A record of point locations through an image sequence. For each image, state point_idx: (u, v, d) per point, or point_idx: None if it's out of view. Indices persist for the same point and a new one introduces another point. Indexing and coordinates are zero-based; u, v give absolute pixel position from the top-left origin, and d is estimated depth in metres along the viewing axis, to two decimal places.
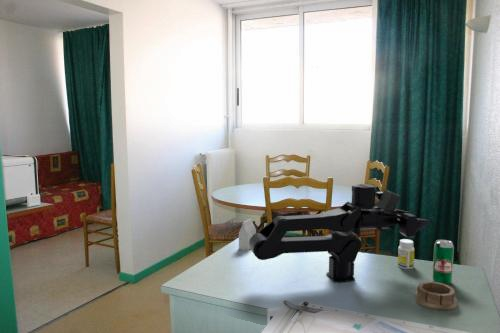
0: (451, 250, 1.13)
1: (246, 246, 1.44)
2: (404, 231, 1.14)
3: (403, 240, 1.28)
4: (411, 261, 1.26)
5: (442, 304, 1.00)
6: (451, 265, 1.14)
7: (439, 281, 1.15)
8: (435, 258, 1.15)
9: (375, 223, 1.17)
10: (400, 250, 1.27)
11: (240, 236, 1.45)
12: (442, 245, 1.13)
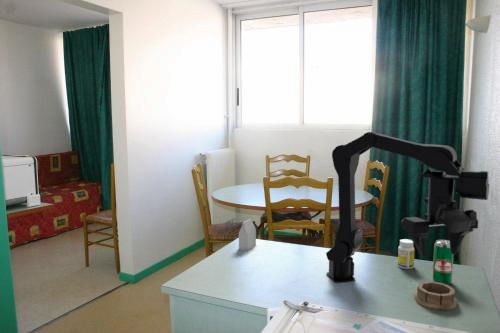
0: None
1: (246, 246, 1.44)
2: (408, 218, 1.02)
3: (403, 240, 1.28)
4: (411, 261, 1.26)
5: (442, 304, 1.00)
6: (451, 265, 1.14)
7: (439, 281, 1.15)
8: (435, 258, 1.15)
9: (436, 195, 0.99)
10: (400, 250, 1.27)
11: (240, 236, 1.45)
12: (442, 245, 1.13)
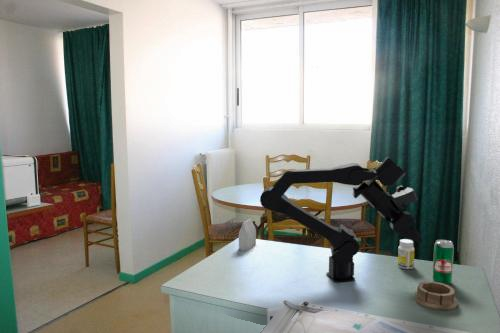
0: (451, 250, 1.13)
1: (246, 246, 1.44)
2: (394, 222, 1.08)
3: (403, 240, 1.28)
4: (411, 261, 1.26)
5: (442, 304, 1.00)
6: (451, 265, 1.14)
7: (439, 281, 1.15)
8: (435, 258, 1.15)
9: (377, 200, 1.13)
10: (400, 250, 1.27)
11: (240, 236, 1.45)
12: (442, 245, 1.13)
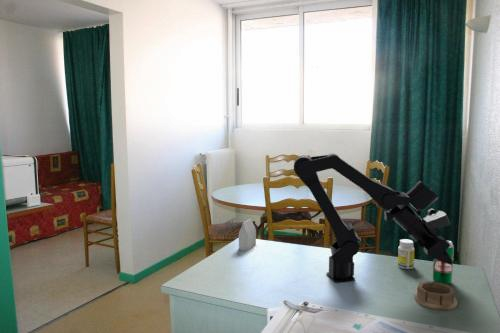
0: (451, 250, 1.13)
1: (246, 246, 1.44)
2: (428, 247, 1.08)
3: (403, 240, 1.28)
4: (411, 261, 1.26)
5: (442, 304, 1.00)
6: (451, 265, 1.14)
7: (439, 281, 1.15)
8: None
9: (410, 224, 1.13)
10: (400, 250, 1.27)
11: (240, 236, 1.45)
12: None
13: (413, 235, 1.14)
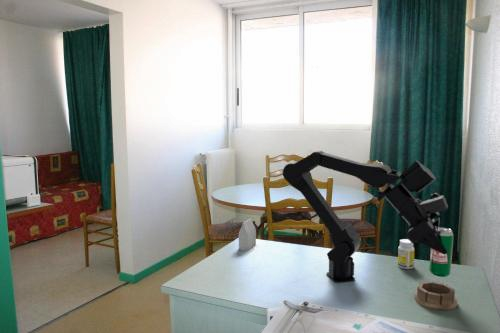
0: (447, 239, 1.02)
1: (246, 246, 1.44)
2: (409, 230, 1.01)
3: (403, 240, 1.28)
4: (411, 261, 1.26)
5: (442, 304, 1.00)
6: (447, 256, 1.03)
7: (433, 271, 1.05)
8: None
9: (400, 205, 1.07)
10: (400, 250, 1.27)
11: (240, 236, 1.45)
12: (437, 232, 1.04)
13: (404, 217, 1.07)
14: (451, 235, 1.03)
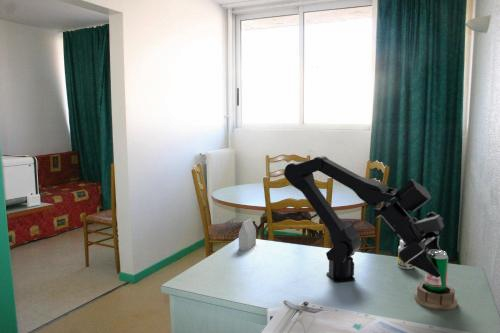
0: (440, 262, 1.01)
1: (246, 246, 1.44)
2: (401, 250, 1.00)
3: None
4: None
5: (442, 304, 1.00)
6: (441, 279, 1.02)
7: None
8: None
9: (394, 223, 1.06)
10: (400, 250, 1.27)
11: (240, 236, 1.45)
12: (430, 255, 1.02)
13: (400, 236, 1.07)
14: (445, 258, 1.01)
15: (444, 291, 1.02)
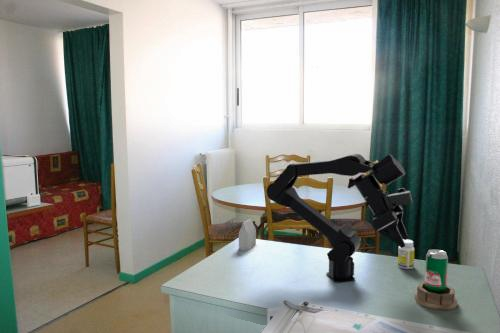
0: (440, 262, 1.01)
1: (246, 246, 1.44)
2: (374, 218, 1.05)
3: (403, 240, 1.28)
4: (411, 261, 1.26)
5: (442, 304, 1.00)
6: (441, 279, 1.01)
7: None
8: None
9: (367, 194, 1.11)
10: (400, 250, 1.27)
11: (240, 236, 1.45)
12: (430, 255, 1.02)
13: (371, 207, 1.11)
14: (445, 258, 1.01)
15: (444, 291, 1.02)
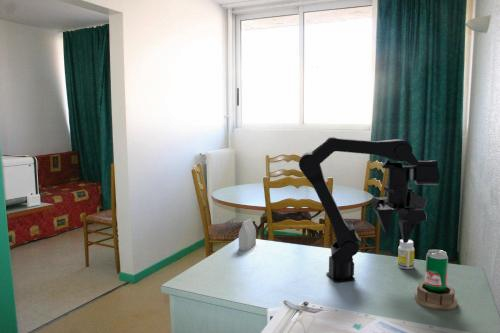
0: (440, 262, 1.01)
1: (246, 246, 1.44)
2: (410, 210, 1.06)
3: None
4: (411, 261, 1.26)
5: (442, 304, 1.00)
6: (441, 279, 1.01)
7: None
8: None
9: (397, 183, 1.11)
10: (400, 250, 1.27)
11: (240, 236, 1.45)
12: (430, 255, 1.02)
13: (395, 195, 1.12)
14: (445, 258, 1.01)
15: (444, 291, 1.02)
